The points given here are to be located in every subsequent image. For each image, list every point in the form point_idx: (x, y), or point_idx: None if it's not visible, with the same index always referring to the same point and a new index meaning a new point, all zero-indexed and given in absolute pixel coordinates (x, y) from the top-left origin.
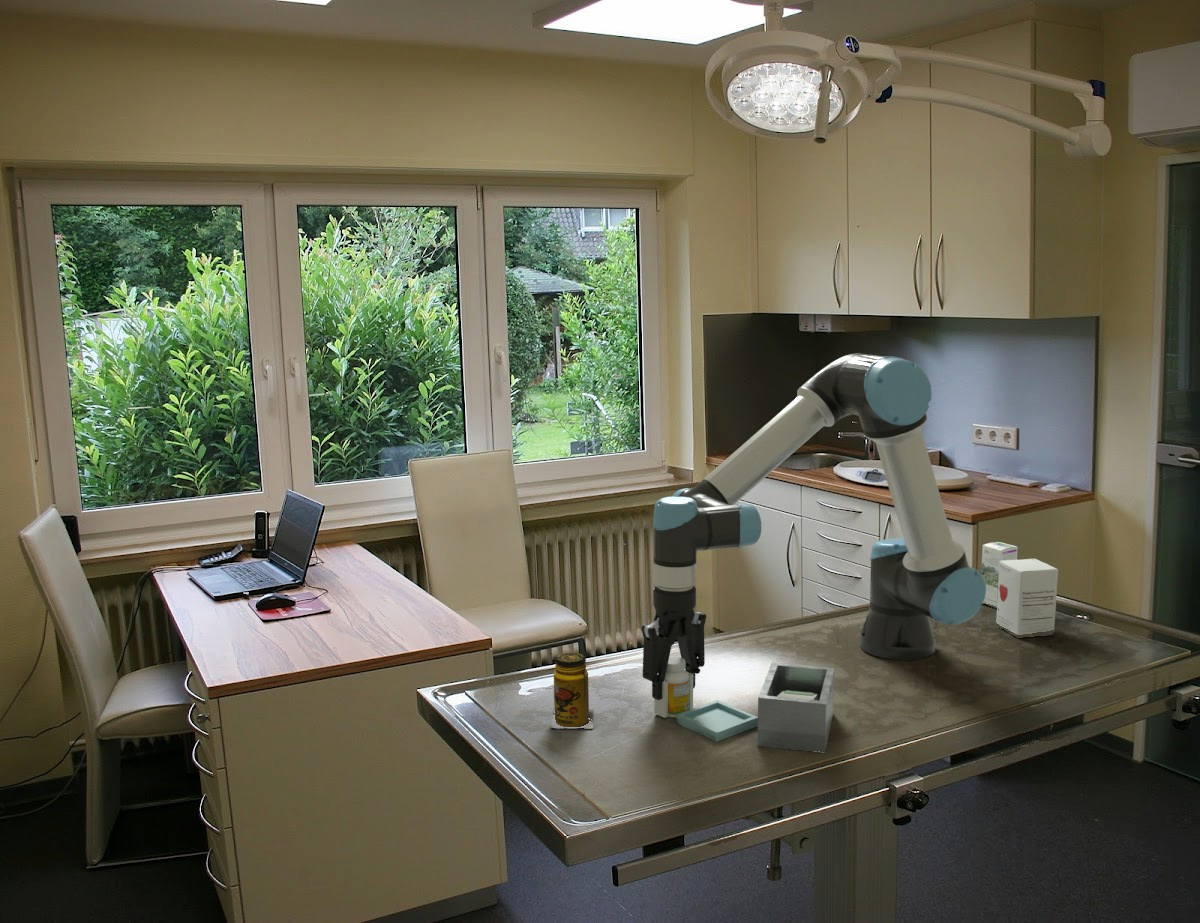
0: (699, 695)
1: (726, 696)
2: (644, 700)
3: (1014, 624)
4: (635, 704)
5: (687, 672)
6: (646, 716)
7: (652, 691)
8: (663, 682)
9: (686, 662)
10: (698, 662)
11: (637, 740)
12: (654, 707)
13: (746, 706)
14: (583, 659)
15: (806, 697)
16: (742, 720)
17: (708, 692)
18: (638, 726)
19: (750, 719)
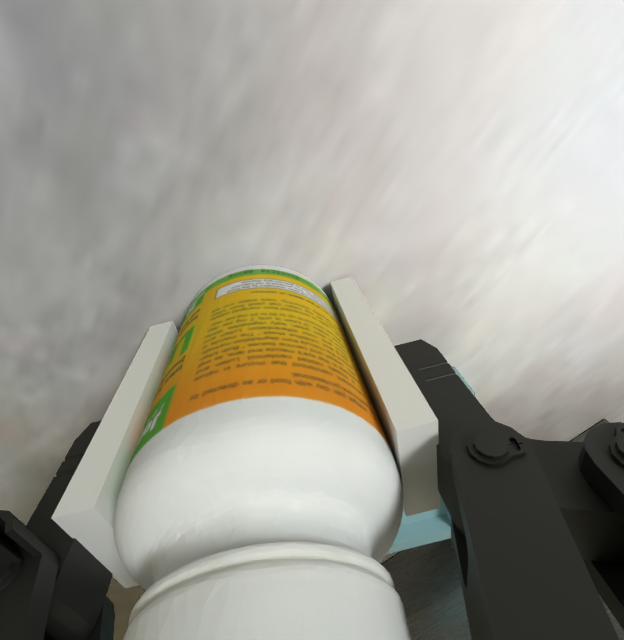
0: (511, 192)
1: (593, 268)
2: (165, 86)
3: None
4: (75, 126)
5: (382, 558)
6: (103, 322)
7: (62, 469)
8: (118, 579)
9: (467, 584)
10: (582, 558)
11: (2, 496)
12: (141, 345)
13: (555, 385)
14: None
15: None
16: (409, 541)
17: (581, 176)
18: (31, 402)
19: (435, 540)
